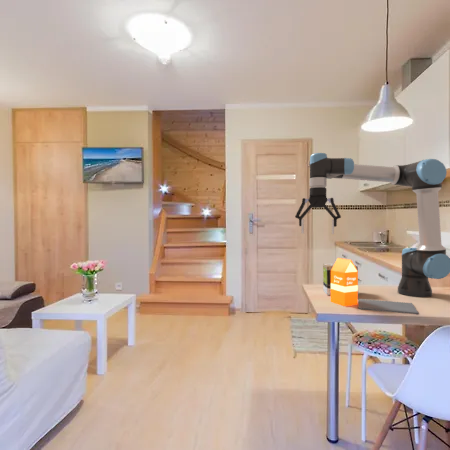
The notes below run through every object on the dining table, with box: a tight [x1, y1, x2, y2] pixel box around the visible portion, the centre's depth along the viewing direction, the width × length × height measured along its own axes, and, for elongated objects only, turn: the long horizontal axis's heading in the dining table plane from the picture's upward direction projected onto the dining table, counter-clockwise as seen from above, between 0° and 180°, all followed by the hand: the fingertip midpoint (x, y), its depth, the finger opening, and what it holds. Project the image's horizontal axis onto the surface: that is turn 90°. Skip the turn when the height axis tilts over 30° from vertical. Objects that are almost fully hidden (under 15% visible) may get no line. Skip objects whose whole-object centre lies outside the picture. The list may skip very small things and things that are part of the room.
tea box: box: [322, 263, 359, 296], centre depth 170 cm, size 15×10×15 cm
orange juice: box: [330, 257, 359, 307], centre depth 151 cm, size 8×9×20 cm
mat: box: [358, 298, 419, 315], centre depth 145 cm, size 22×16×1 cm
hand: (317, 233), depth 155 cm, fingers open, 13 cm apart
